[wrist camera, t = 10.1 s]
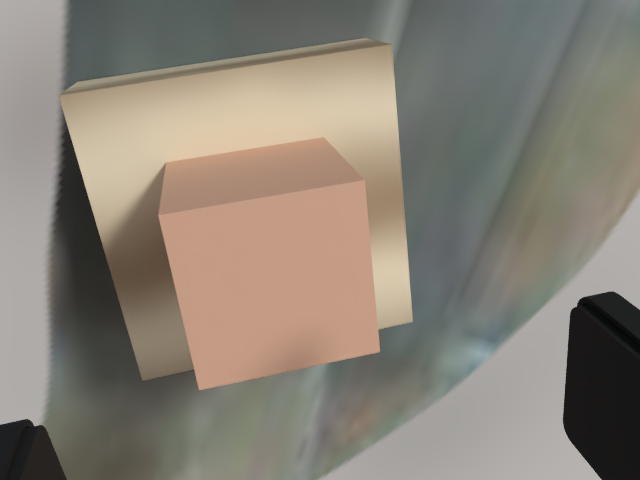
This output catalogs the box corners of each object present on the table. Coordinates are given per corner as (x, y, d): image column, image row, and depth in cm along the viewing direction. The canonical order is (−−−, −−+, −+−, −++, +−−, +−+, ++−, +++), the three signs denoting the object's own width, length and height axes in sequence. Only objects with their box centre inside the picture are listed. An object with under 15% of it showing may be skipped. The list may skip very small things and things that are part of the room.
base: (77, 81, 22) (58, 95, 19) (364, 37, 24) (391, 44, 21) (148, 334, 27) (142, 380, 23) (387, 284, 28) (412, 321, 25)
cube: (165, 162, 20) (158, 215, 15) (323, 136, 21) (364, 179, 16) (197, 303, 23) (199, 390, 18) (339, 276, 23) (379, 351, 18)
